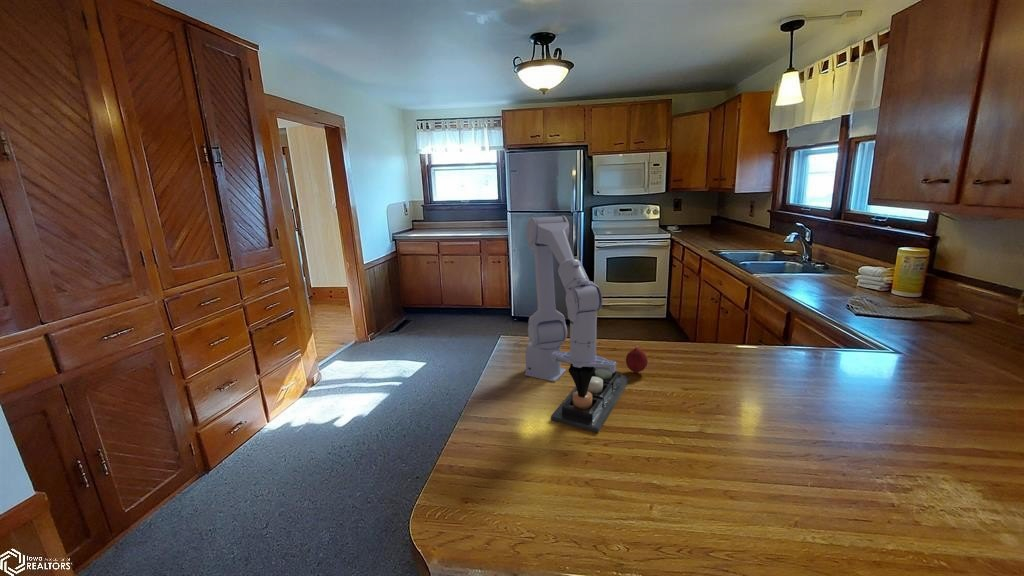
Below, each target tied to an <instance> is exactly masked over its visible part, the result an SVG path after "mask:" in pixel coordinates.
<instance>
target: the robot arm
mask: <svg viewBox="0 0 1024 576" xmlns="http://www.w3.org/2000/svg"><path fill="white" fill-rule="evenodd" d="M525 230H526V244H527V248H528V249H529V250H531V251H533V257H534V268H535V272H534V273H535V284H536V296H537V297H536V299H537V310H536V311H535V312H534V313H532V315H530V316H529V318H528V326H527V327H528V328H527V335H528V339H529V342H528V344H527V346H526V349H525V373H524V375H525V376H527V377H531V378H536V379H541V380H544V381H545V380H546V381H550V382H557V381H558V380H559V379H560V378H561V376H562V375H564V373H566V372H567V369H566V368H563V367H562V366H561V365H562V364H563V363H564V364H569V365H570V366H569V368H568V374H569V375H570V376H571V378H572V380H573V383H574V384H575V387H576V388H577V392H578V396H579V397H583V398H584V397H585V396H586V395H587V391H588V386H589V383H590V380H591V378H592V376H593V374H594V372H595V370H596V369H601V370H606V371H609V372H610V373H614V372H615V371H617V361H615V360H610V359H607V358H605V357H602V356H598V355H597V329H598V328H597V324H598V323H597V320H598V318H597V316H598V315H597V314H598V313H597V311H600V310H601V309H602V306H603V295H602V291H601V288H600V287H599V285H598V284H595V283H594V281H591V280H590V279H589V276H588V274H587V273H586V270H585V268H584V266H583V264H582V262H581V260H579V259H575V258H574V257H575V256H574V254H573V251H572V248H571V244H570V242H569V235H570V234H569V233H570V222H569V220H568V217H566V215H560V216H559V215H557V216H543V217H533V216H532V217H529V219H528V220H527V223H526V229H525ZM553 256H554V257H555V258H556V261H557V262H558V264H559V267H558V268H557V273H558V276H559V278H560V280H561V283H562V286H563V287H564V291H565V293H566V294H565V306H566V308H567V309H566V310H567V317H568V318H567V319H568V320H569V322H570V323H569V325H570V326H569V330H570V331H569V351H561V350H562V348H561V347H562V346H563V345H564V342H565V341H566V340H567V338H568V328H567V327H568V326H567V324H566V323H567V322H566V318H565V315H564V314H563V313H562V312H561V311H559V310H557V309H556V308H557V307H556V292H555V291H556V290H555V277H554V262H553V261H554V259H553Z"/></svg>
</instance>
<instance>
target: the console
mask: <svg viewBox="0 0 1024 576" xmlns="http://www.w3.org/2000/svg"><path fill="white" fill-rule="evenodd" d="M592 377H595V372H594V374H593V376H592ZM630 378H631V377H630V376H627V375H624V374H623V375H622V373H621V371H618V370H616V371H615V372H614V373H612V379H610V380H603V379H602V380H603V392H602V393H600V394H594V393H591V394H592V407H591V408H590V409H588V410H583V409H579V408H575V407H574V406H573V393H574V392H576V391H577V388H576V386H575V387H574V388H573V389H572V390H571V391H570V393H569V394H568V395H567V396H566V397H565V399H564V400H562V402H561V404H559V405H558V407H557V408H556V409H555V411H554V412H553V413H552V414H551V415H550V421H551V422H555V423H558V424H563V425H566V426H570V427H573V428H576V429H577V428H578V429H580V430H584V431H588V432H592V433H595V434H599V432H600V431H601V430H602V428H603V426H604V424H605V422H606V421H607V419H608V417H609V416H610V415H611V412H612V411H613V409H614V407H615V406H616V404H617V403H618V400H619V399H620V397H621V396H622V394H623V392H624V391H625V389H626V387H627V386H628V384H629V382H630Z"/></svg>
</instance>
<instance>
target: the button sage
mask: <svg viewBox="0 0 1024 576" xmlns="http://www.w3.org/2000/svg"><path fill="white" fill-rule="evenodd" d="M595 377H599V378H601V379H603V380H610V379H612V373H610V372H609V371H606V370H601V369H596V370H595Z"/></svg>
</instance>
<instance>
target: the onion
mask: <svg viewBox="0 0 1024 576" xmlns="http://www.w3.org/2000/svg"><path fill="white" fill-rule="evenodd" d="M648 361H649V360H648V357H647V354H646V353H645V352H644V351H643V350H641V349H640V346H639V345H636V346H635V348H633V349H631V350H630V351H629V352H628V353H627V355H626V357H625V363H626V367H627V368H628V369H629V370H630V371H631V372H633V373H634V374H638V373H641V372H643V371H644V370H645V369H646V367H647V366H648V363H649V362H648Z"/></svg>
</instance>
